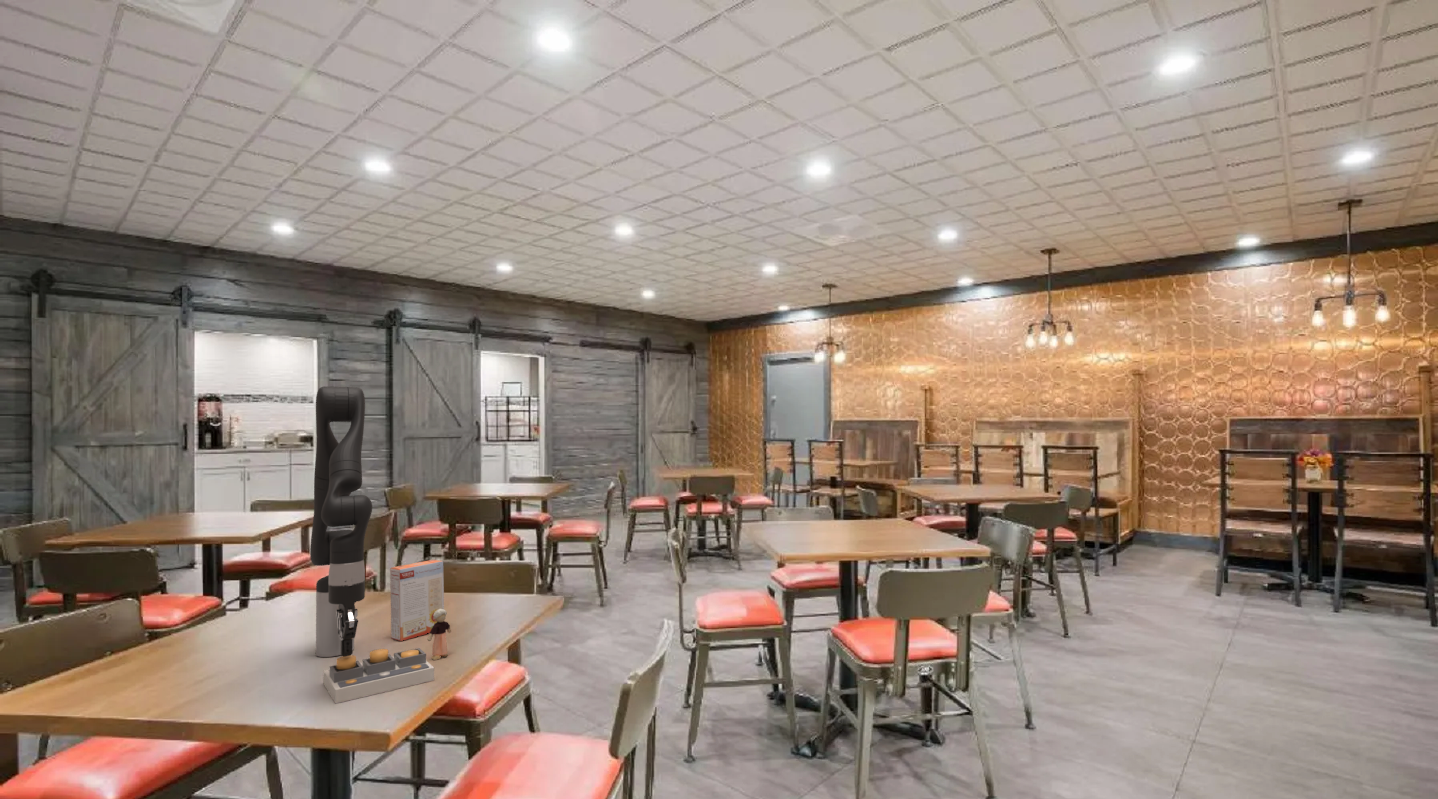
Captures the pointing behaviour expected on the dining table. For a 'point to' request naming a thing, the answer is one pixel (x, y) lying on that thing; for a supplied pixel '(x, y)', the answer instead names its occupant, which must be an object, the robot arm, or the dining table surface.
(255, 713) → the dining table surface
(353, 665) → the left button
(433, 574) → the cracker box
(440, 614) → the grandmother figurine
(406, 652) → the right button
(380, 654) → the middle button
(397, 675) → the button console
